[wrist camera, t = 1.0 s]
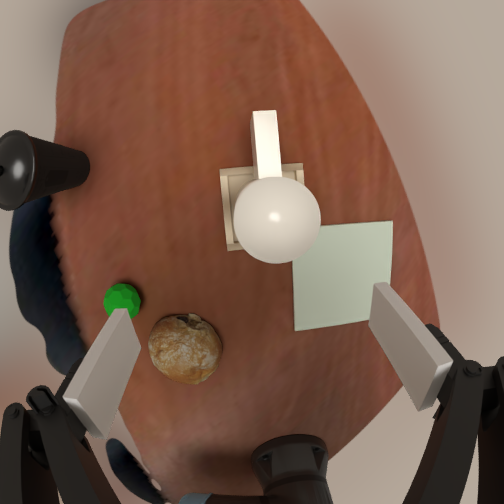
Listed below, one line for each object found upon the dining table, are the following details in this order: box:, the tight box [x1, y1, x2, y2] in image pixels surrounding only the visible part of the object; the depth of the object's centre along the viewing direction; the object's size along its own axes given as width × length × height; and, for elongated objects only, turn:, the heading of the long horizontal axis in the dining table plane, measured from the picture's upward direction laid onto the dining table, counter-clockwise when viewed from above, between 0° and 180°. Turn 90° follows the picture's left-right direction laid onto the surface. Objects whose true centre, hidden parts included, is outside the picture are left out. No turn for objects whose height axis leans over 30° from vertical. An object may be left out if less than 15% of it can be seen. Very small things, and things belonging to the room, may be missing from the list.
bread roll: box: [148, 314, 222, 384], centre depth 37 cm, size 10×10×8 cm
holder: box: [219, 163, 304, 251], centre depth 34 cm, size 9×9×2 cm
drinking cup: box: [0, 130, 90, 211], centre depth 22 cm, size 8×8×20 cm
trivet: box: [292, 220, 393, 331], centre depth 37 cm, size 14×14×1 cm
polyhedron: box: [104, 284, 141, 319], centre depth 34 cm, size 5×5×5 cm
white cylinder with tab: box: [234, 110, 321, 264], centre depth 27 cm, size 13×7×12 cm, turn 5°
